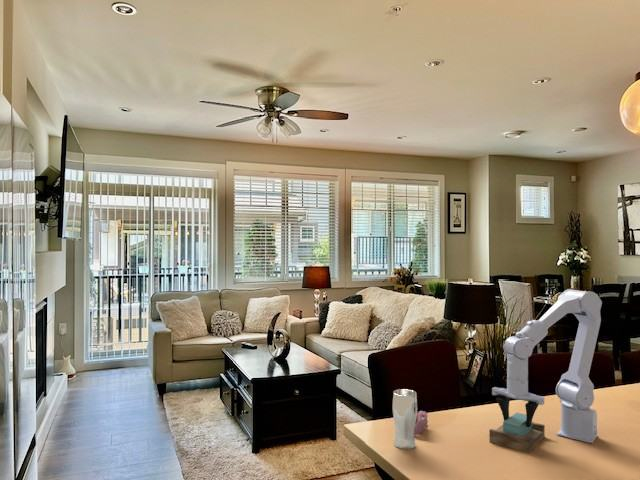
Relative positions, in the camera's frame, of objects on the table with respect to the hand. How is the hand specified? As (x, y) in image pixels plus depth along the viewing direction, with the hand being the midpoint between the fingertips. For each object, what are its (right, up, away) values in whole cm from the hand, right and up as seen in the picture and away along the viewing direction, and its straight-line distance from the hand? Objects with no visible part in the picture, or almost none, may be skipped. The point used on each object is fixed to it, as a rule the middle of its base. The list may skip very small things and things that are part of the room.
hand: (517, 423), depth 140 cm
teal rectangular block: (0, -3, 0) cm, 3 cm away
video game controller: (-28, -5, +6) cm, 29 cm away
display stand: (0, -5, 0) cm, 5 cm away
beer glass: (-34, -5, -5) cm, 35 cm away
